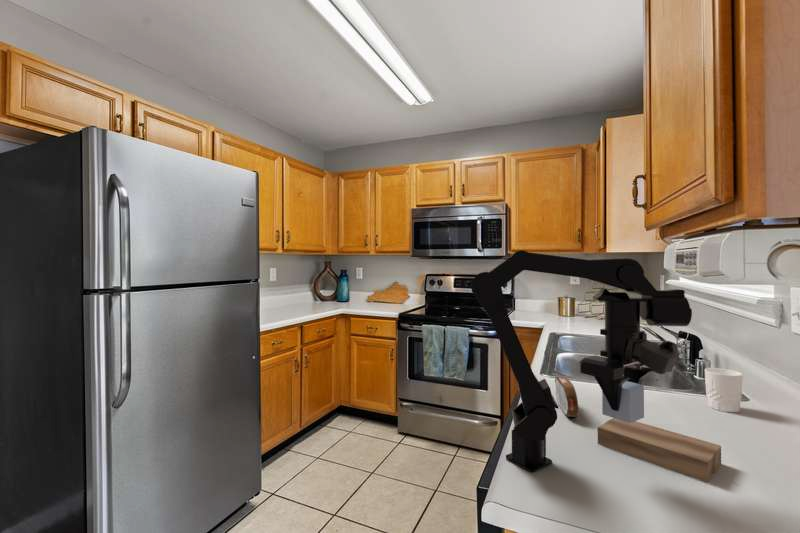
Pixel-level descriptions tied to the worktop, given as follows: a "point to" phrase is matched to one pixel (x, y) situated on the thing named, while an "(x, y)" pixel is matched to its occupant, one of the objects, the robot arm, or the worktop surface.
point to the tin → (566, 396)
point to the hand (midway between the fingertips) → (622, 407)
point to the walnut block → (662, 447)
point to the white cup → (723, 389)
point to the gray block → (627, 403)
